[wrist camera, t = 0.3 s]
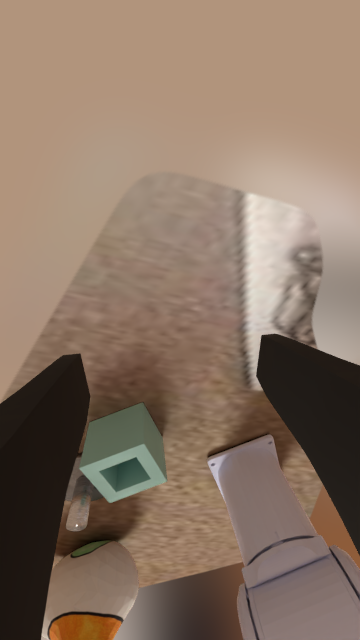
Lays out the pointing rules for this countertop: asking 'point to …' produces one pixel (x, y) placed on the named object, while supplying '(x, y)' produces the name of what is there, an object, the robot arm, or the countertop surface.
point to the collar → (124, 453)
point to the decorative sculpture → (90, 593)
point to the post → (80, 498)
